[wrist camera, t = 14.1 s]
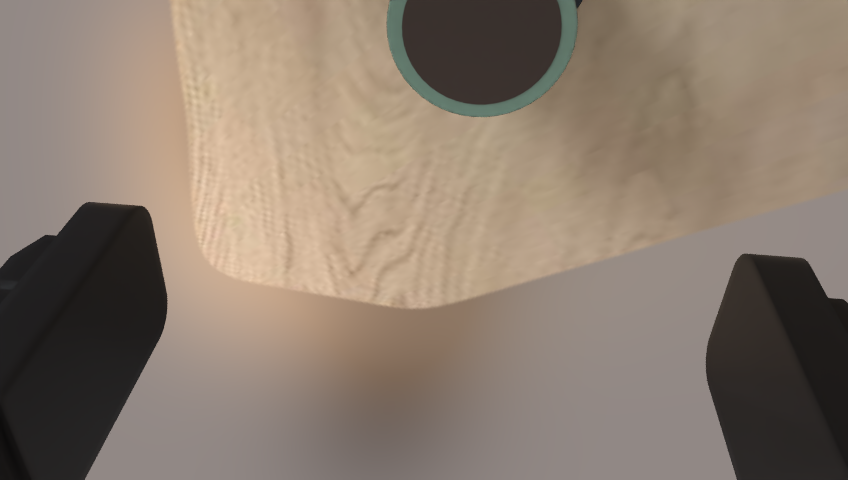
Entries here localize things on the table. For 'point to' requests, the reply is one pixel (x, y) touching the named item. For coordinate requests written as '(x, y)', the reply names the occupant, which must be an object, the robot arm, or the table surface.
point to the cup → (481, 50)
